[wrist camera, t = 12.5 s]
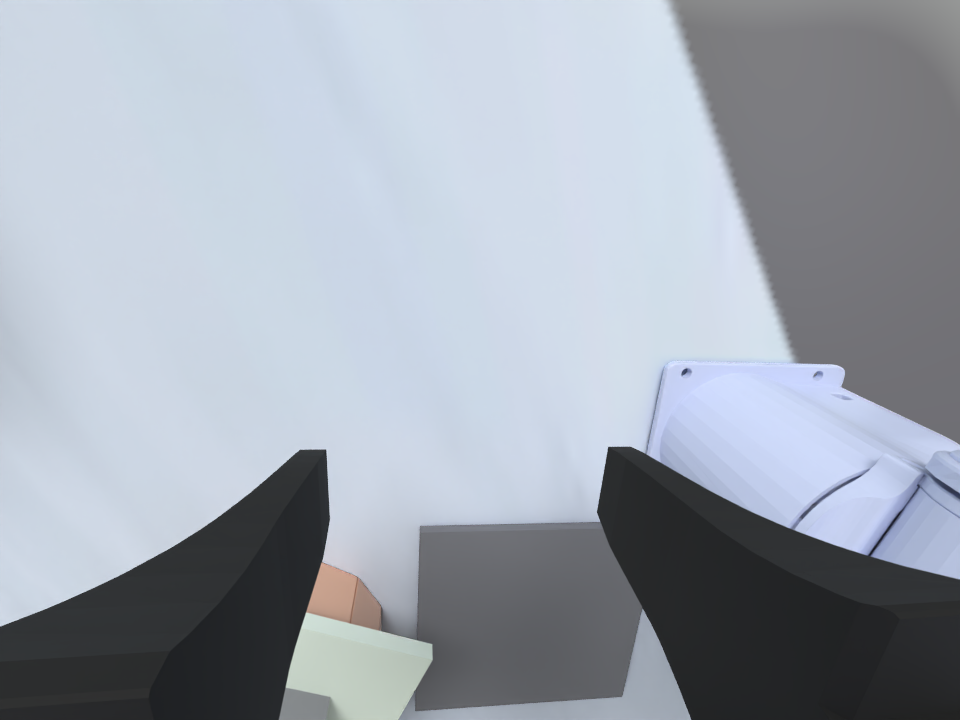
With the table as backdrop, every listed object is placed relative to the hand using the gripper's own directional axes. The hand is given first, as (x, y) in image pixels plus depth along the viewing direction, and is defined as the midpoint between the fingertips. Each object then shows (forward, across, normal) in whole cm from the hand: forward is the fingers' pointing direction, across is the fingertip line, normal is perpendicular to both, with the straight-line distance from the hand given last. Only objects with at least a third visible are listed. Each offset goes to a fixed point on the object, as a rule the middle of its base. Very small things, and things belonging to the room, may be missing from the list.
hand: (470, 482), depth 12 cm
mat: (+10, -6, +16) cm, 20 cm away
